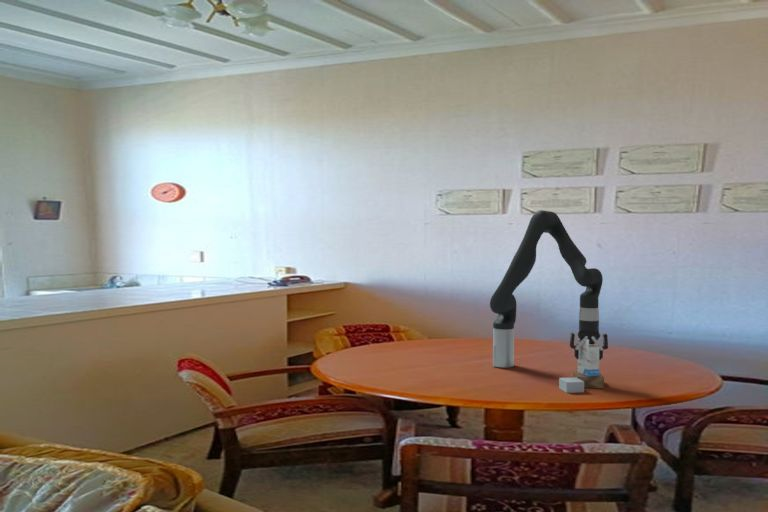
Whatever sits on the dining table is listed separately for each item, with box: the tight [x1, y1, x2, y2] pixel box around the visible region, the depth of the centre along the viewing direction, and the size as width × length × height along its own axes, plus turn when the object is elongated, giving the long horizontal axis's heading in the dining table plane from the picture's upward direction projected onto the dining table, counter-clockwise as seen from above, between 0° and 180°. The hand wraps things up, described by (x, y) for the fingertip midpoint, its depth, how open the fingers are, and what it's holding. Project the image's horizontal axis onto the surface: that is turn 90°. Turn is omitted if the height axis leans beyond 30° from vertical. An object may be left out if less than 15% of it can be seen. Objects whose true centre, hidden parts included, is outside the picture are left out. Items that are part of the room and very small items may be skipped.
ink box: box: [577, 336, 600, 377], centre depth 243 cm, size 8×5×15 cm, turn 12°
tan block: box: [572, 370, 605, 389], centre depth 243 cm, size 10×10×4 cm
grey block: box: [558, 377, 585, 394], centre depth 234 cm, size 7×7×4 cm
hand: (588, 359), depth 243 cm, fingers open, 8 cm apart
